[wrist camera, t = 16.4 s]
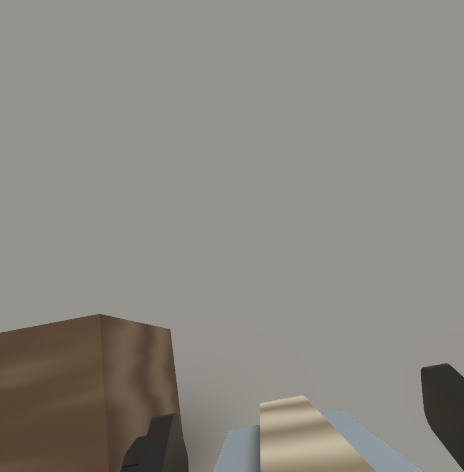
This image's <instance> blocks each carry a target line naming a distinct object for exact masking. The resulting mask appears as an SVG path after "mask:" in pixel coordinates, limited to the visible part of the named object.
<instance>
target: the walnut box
mask: <svg viewBox="0 0 464 472" xmlns="http://www.w3.org/2000/svg"><path fill="white" fill-rule="evenodd" d="M171 413H176V414H177V416H178V420H179V424H180V427H181V431H182V424H181V416H180V407H179V399H178V391H177V383H176V374H175V366H174V357H173V349H172V340H171V332H170V329H166V328H161V327H156V326H152V325H148V324H143V323H139V322H133V321H129V320H125V319H120V318H116V317H111V316H107V315H102V314H97V315H91V316H86V317H81V318H76V319H70V320H65V321H60V322H55V323H49V324H44V325H39V326H34V327H28V328H23V329H18V330H13V331H8V332H2V333H0V472H120V470H121V469H122V467H121V466H122V463H123V460H124V457H125V454H126V451H127V450H128V449H129V447H130V446H131V445H132V444H133V442H134V441H135V440H136V438H137V437H141V436H147V433H148V429H149V426H150V422H151V419H152V417H154V416H160V415H165V414H171ZM182 435H183V433H182Z"/></svg>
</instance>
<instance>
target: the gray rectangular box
mask: <svg viewBox="0 0 464 472" xmlns="http://www.w3.org/2000/svg"><path fill="white" fill-rule="evenodd" d="M321 414H322V415H323V416H324V417H325V418H326V420H327V421H328V422H329V423H330V424H331V425H332V426H333V427H334V428H335V429H336V430H337V431H338V432H339V433H340V434H341V435H342V436H343V437H344V438H345V439H346V441H347V442H348V443H349V444H350V445H351V446H352V447H353V448H354V449H355V450H356V451H357V452H358V453H359V454H360V455H361V456H362V457H363V458H364V459H365V461H366V462H367V463H368V464H369V465H370V466H371V467H372V468H373V469H374V470H375V471H376V472H422V471H421V470H420V469H418V468H417V467H415V466H414V465H413V464H412V463H410V462H409V461H408V460H406V459H405V458H404V457H402V456H401V455H400V454H398V453H397V452H396V451H394V450H393V449H392V448H390V447H389V446H388V445H386V444H385V443H384V442H382V441H381V440H380V439H378V438H377V437H376V436H374V435H373V434H372V433H370V432H369V431H368V430H366V429H365V428H364V427H362V426H361V425H360V424H358V423H357V422H356V421H354V420H353V419H352V418H350V417H349V416H348V415H347V414H345V413H344V412H342V411H341V410H337V411H332V412H326V413H321ZM214 472H261V470H260V425H256V426H250V427H245V428H240V429H234V430H229V432H228V434H227V437H226V440H225V442H224V445H223V448H222V450H221V453H220V456H219V458H218V461H217V463H216V466H215V469H214Z"/></svg>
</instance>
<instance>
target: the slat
mask: <svg viewBox="0 0 464 472" xmlns="http://www.w3.org/2000/svg"><path fill="white" fill-rule="evenodd" d="M260 470H261V472H376V471H375V470H374V469H373V468H372V467H371V466H370V465H369V464H368V463H367V462H366V461H365V459H364V458H363V457H362V456H361V455H360V454H359V453H358V452H357V451H356V450H355V449H354V448H353V447H352V446H351V445H350V444H349V443H348V442H347V441H346V439H345V438H344V437H343V436H342V435H341V434H340V433H339V432H338V431H337V430H336V429H335V428H334V427H333V426H332V425H331V424H330V423H329V422H328V421H327V420H326V418H325V417H324V416H323V415H322V414H321V413H320V412H319V411H318V410H317V409H316V408H315V407H314V406H313V405H312V404H311V403H310V402H309V401H308V400H307V398H306V397H305V396H304V395H302V396H296V397H291V398H286V399H280V400H275V401H269V402H264V403H260Z"/></svg>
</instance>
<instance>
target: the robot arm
mask: <svg viewBox="0 0 464 472" xmlns="http://www.w3.org/2000/svg"><path fill="white" fill-rule="evenodd" d="M421 381H422V393H423V404H424V412H425V415H426V418H427V421H428V423H429V425H430V427H431V429H432V430H433V432H434V433H435V434H436V436H437V437H438V438H439V440H440V441H441V442H442V443H443V444H444V446H445V447H446V449H447V450H448V451H449V452H450V453H451V455H452V456H453V458H454V459H455V460H456V461H457V463H458V464H459V465H460V467H461V468H462V469H463V470H464V377H463V376H461V375H460V374H459V373H458V372H457V371H456V370H455V369H454V368H453V367H452V366H450V365H449V364H447V363H446V364H440V365H435V366H429V367H423V368H422V369H421ZM121 467H122V469H121V470H120V472H188V456H187V451H186V447H185V443H184V439H183V435H182V431H181V427H180V424H179V420H178V416H177V414H176V413H171V414H165V415H160V416H154V417H152V419H151V422H150V426H149V429H148V433H147V436H141V437H137V438H136V440H135V441H134V442H133V444H132V445H131V446H130V447H129V449H128V450H127V451H126V454H125V457H124V460H123V463H122V466H121Z"/></svg>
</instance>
